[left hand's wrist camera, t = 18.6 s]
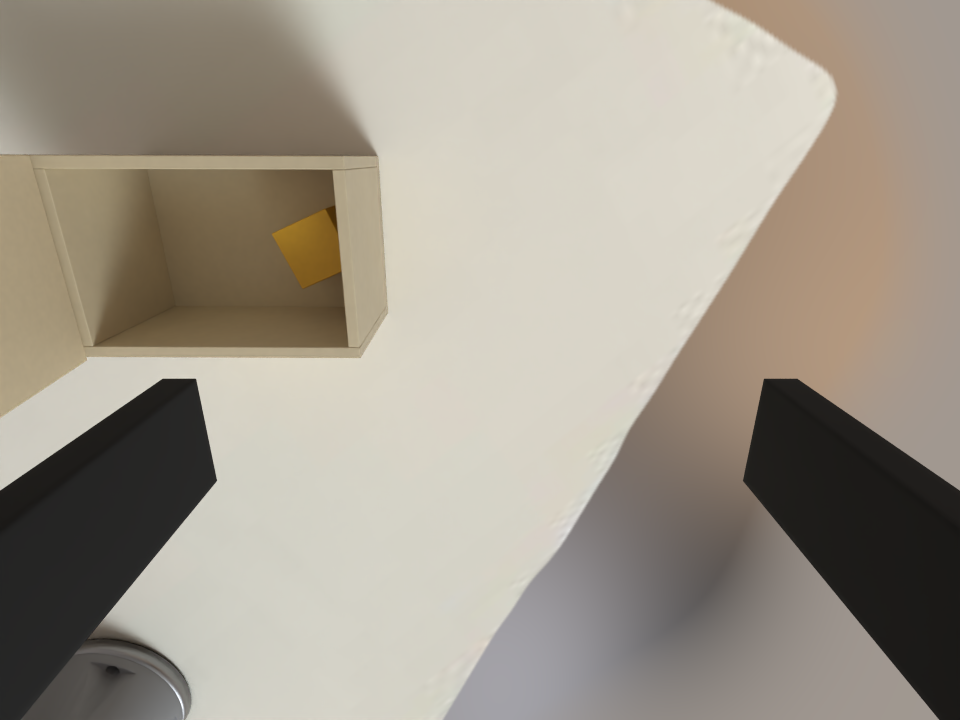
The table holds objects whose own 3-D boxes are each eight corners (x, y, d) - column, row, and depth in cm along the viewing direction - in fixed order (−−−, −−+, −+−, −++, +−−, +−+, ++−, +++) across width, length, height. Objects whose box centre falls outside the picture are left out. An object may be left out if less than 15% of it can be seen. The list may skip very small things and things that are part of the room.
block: (340, 203, 39) (325, 208, 35) (367, 255, 40) (355, 266, 36) (291, 226, 40) (270, 233, 36) (319, 276, 41) (302, 289, 37)
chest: (378, 155, 38) (343, 155, 29) (388, 313, 43) (360, 358, 33) (140, 155, 38) (27, 154, 29) (173, 312, 43) (84, 357, 33)
